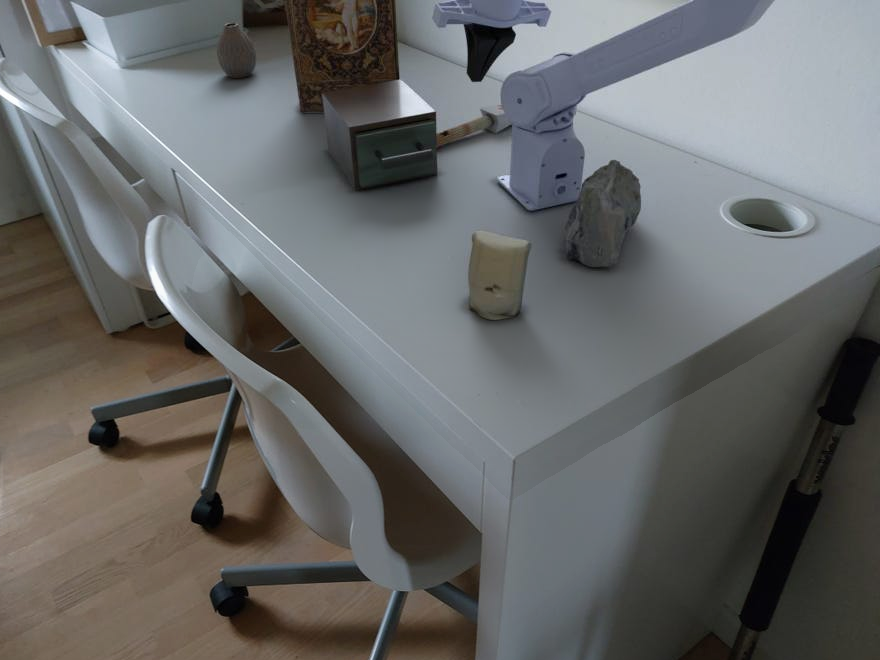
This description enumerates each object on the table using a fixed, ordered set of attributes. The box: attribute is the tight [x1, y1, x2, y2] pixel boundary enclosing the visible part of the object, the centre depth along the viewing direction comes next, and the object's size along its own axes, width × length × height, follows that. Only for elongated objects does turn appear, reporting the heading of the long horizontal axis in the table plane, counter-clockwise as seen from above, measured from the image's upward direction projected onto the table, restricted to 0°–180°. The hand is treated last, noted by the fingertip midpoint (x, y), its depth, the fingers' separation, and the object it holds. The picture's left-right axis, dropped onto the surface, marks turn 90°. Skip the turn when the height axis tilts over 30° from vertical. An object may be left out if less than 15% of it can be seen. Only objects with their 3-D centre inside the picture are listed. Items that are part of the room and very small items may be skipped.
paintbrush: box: [436, 104, 512, 148], centre depth 106 cm, size 4×3×20 cm
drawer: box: [354, 119, 436, 187], centre depth 94 cm, size 17×10×7 cm, turn 19°
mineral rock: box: [564, 159, 642, 268], centre depth 78 cm, size 13×11×10 cm
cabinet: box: [322, 78, 438, 192], centre depth 97 cm, size 14×12×9 cm
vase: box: [216, 22, 257, 79], centre depth 130 cm, size 7×7×9 cm
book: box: [284, 0, 401, 114], centre depth 109 cm, size 16×6×25 cm, turn 84°
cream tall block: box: [467, 230, 532, 321], centre depth 69 cm, size 6×5×8 cm
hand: (474, 77), depth 91 cm, fingers closed
